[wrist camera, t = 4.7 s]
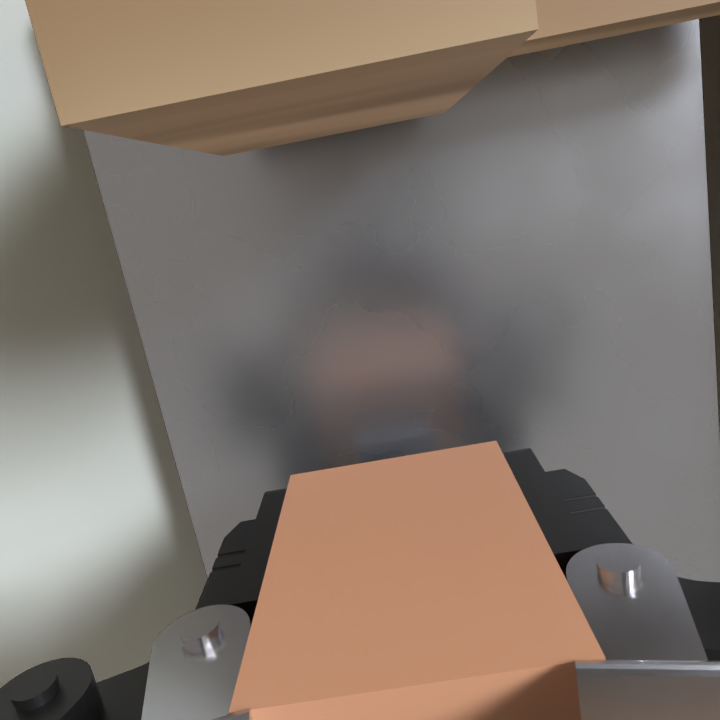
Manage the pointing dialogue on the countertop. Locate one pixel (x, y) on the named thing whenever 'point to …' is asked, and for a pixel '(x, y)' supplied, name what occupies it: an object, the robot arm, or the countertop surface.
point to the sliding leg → (413, 599)
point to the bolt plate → (445, 291)
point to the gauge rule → (298, 60)
